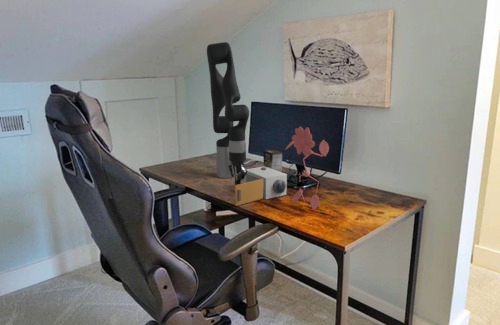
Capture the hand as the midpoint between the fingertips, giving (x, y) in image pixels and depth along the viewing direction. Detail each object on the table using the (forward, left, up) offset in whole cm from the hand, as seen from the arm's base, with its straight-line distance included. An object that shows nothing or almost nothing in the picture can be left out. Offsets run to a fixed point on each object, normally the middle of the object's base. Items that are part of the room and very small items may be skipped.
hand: (237, 187), depth 174 cm
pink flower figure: (+25, +16, -6) cm, 30 cm away
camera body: (-1, +16, -5) cm, 17 cm away
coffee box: (-14, +30, -6) cm, 34 cm away
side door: (+8, +2, -5) cm, 9 cm away
